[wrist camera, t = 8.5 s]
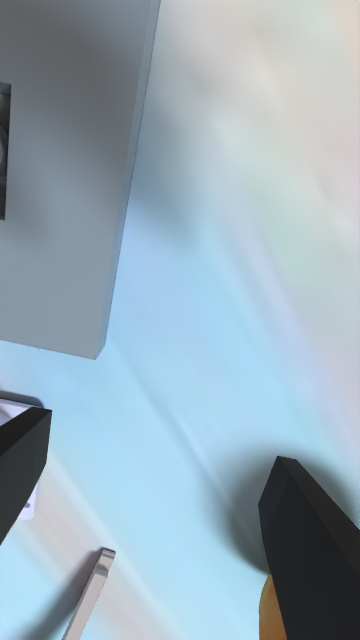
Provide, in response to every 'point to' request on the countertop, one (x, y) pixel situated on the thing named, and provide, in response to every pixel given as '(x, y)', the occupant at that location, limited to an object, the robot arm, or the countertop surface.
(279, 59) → the countertop surface
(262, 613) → the onion
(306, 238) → the countertop surface
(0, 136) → the steel ball
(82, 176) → the hole plate
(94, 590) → the caliper
